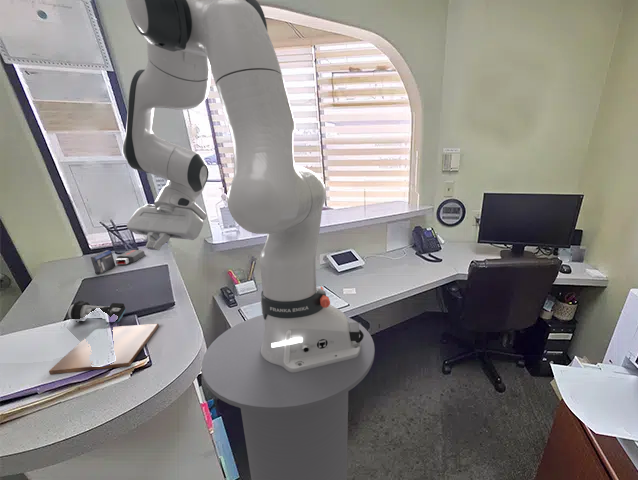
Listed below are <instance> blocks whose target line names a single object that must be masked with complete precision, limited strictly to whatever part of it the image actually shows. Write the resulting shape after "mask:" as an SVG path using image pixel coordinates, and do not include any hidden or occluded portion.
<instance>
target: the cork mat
mask: <svg viewBox="0 0 638 480" xmlns="http://www.w3.org/2000/svg"><path fill="white" fill-rule="evenodd" d="M159 326H160V325H159V323H147V324H135V325H134V324H133V325H121V326H112V327H113V330H112V331H113V341H114V351H115V355H116V361H115V362H114V363H112V364H110V365H109V366H105V367H92V366H91V365H94V364H91V363H93V361H91V362H90V360H89V359H90V358H89V357H90V356H89V355H91V354H92V353H91V352H92V350H91V346H90V344H88V341H87V342H86V339H85V337H84V338H83V339H84V340H83V339H82V340H81V341H80V342H78V344H76V345H75V346H74V347H73V348H72V349H71V350H70V351H69V352H68V353H66V354H65V355H64V356H63V357H62V358H61V359H60V360H59V361H58V362H57V363H55V365H53V367H51V368H50V369H49V370H48V373H49V375H56V374H58V375H59V374H67V373H76V372H84V371H86V372H87V371H96V370H105V369H114V368H124V367H130V366H131V364H132V363H134V361H135V359H136V358H137V356H138V355H139V354H140V353H141V352H142V350H143V348H144V347H145V346H146V345H147V343H148V342H149V340H151V338H152V336H153V335H154V333H155V332H156V331H157V330H158V328H159ZM88 346H89V347H88ZM90 351H91V352H90Z"/></svg>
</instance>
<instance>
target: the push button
mask: <svg viewBox="0 0 638 480" xmlns="http://www.w3.org/2000/svg"><path fill="white" fill-rule="evenodd" d="M96 308H100V309H101V310H102V311H103V312H105V313H107V314H108V315H109V316H110V317H111V316H112V315H113V314H115V315H117V316H118V319H117V320H116V321H115V323H114V324H117V323H119V322H120V321H121V320H122V319H123V317H124V316H123V315H124V314H125V313H126V311H127V308H126V306H125V303H120V302H119V303H118V302H116V303H115V302H112V303H110V305H108V306H107V305H105V306H103V305H91V304H90V303H89V301H84V300H77V301H75V302H74V303H73V304H71V305H70V306H69V308H68V311H67V316H68V317H69V319H70V320H72V319H80V318H83V317H85V316H86V315H88V314H89V313H90V312H92V311H94V310H95V309H96Z"/></svg>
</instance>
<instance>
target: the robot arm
mask: <svg viewBox="0 0 638 480" xmlns="http://www.w3.org/2000/svg"><path fill="white" fill-rule="evenodd" d="M125 2H126V7H127V10H128V12H129V15H130V18H131V20H132V22H133V25H134V26H135V28H136V31H138V33H139V34H140V35H141V36H142V37H143V38H144V39H145V40H146V50H147V51H146V52H147V63H146V67H145V68H144V69H138V70H137V71H136V72H135V73H134V75H133V76H132V79H131V81H130V86H129V92H128V101H127V113H126V126H125V134H124V137H123V142H122V147H121V154H122V156H123V158H124V160H125V161H126V163H127V164H128V165H129V167H130V168H132V169H133V170H136V171H140V172H143V173H145V174H146V173H147V174H151V175H154V176H156V177H159V178H162V179H164V180H167V181H166V185H164V186H163V187H162V188H161V190H160V192H158V193H159V194H158V195H157V197H156V199H155V200H154V203H153V204H150V203H147V204H145V205H143V206H140V207H138V208H137V209H136V210H135V211H134V213H133V214H132V215H131V216H130V217H129V220H128V221H127V223H126V228H127V229H128V230H129V231H130V232H132V233H133V234H135V235H141V236H146V238H147V242H146V244H145V248H146V249H147V250H150V251H161V248H162V247H163V246H164V245H165V244H167V243H168V242H169V241H170V239H177V240H178V239H179V240H187V241H188V240H189V241H194V240H196V239H197V238H198V237H199V236H200V233H201V232H202V229H203V226H204V221H205V220H207V219H206V218H207V216H208V215H207V213H206V212H205V211H204V210H203V209H202V208H201V207H200V206H199V205H198V204H197V200H198V198H200V196H201V195H202V193H203V191H204V188H205V186H206V184H207V182H208V179H209V172H210V169H209V166H208V164H207V163H206V161H205V159H204V158H203V156H202V155H201V154H200V153H198V152H196V151H194V150H192V149H190V148H187V147H186V146H185V147H184V146H182V145H179V144H177V143H174V142H172V141H169V140H167V139H164V138H162V137H160V136H158V135H157V134H156V133H154V132H153V129H152V128H153V120H154V114H155V109H169V110H175V111H176V110H177V111H184V110H185V111H186V110H190V109H194V108H198V107H200V106H201V105H202V104H204V102H205V101H206V99H207V98H208V95H209V92H210V86H211V74H212V78H213V80H214V84H215V87H216V91H217V94H218V97H219V99H220V103H221V106H222V110H223V112H224V116H225V119H226V122H227V125H228V129H229V131H230V135H231V136H230V137H231V143H232V149H233V167H234V168H233V176H232V177H233V178H232V181H231V183H230V184H229V187H228V189H227V194H226V202H227V203H226V204H227V209H228V211H229V213H230V216H231V217H232V218H233V220H234V221H235V223H236V224H237V225H238V226H240V227H241V228H242V229H243V230H245V231H246V232H249V233H252V234H257V235H258V234H259V235H266V239H265V242H264V245H263V248H262V249H261V252H260V255H259V266H260V267H259V268H260V277H261V287H262V290H261V294H260V307H261V315H263V318H264V336H263V342H262V346H261V355H262V356H263V358H264V359H265V360H267V361H268V362H270V363H273V364H276V365H280V366H282V367H284V368H285V369H286V370H287V371H289V372H292V373H294V372H299V371H303V370H307V369H311V368H315V367H319V366H323V365H327V364H332V363H336V362H340V361H344V360H348V359H352V358H355V357H357V356H358V355H359V353H360V351H361V343H360V342H361V341H362V339H363V337H364V334H363V332H362V331H361V330H359V324H360V322H358V321H356V322H348V319H347V317H348V316H346V314H345V313H344V311H342V310H341V309H338V308H337V307H335V306H333V305H332V304H331V300H330V298H329V297H328V296H327V293H326V291H325V289H324V288H323V286H321V285H320V287H319V286H317V251H318V250H317V249H318V243H319V237H320V236H319V235H320V230H321V222H322V214H323V213H322V212H323V208H324V205H325V202H326V198H327V188H326V185H325V183H324V181H323V179H322V178H321V177H320V176H319V175H318V174H317V173H315V172H314V171H312V170H310V169H308V168H306V167H304V166H299V165H296V164H295V159H294V133H295V131H296V122H295V118H294V114H293V109H292V106H291V103H290V98H289V95H288V91H287V88H286V84H285V79H284V76H283V72H282V69H281V65H280V62H279V60H278V59H279V58H278V55H277V53H276V50H275V48H274V45H273V42H272V40H271V37H270V35H269V32H268V31H269V30H268V24H267V19H266V16H265V13H264V11H263V8H262V6H261V4H260V3H259V2H258V0H125ZM359 334H360V338H359Z"/></svg>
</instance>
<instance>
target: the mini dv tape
mask: <svg viewBox="0 0 638 480" xmlns="http://www.w3.org/2000/svg"><path fill="white" fill-rule="evenodd" d="M90 260H91V264H92V267H93V270H94V273H95V274H96V275H102V274H103V273H105V272H107V271H109V270H111V269H113V268H115V267H116V261H115V260H114V255H113V252H112V250H111V249H106V250H103V251H101V252H99V253H96V254H94V255H92V256H90Z"/></svg>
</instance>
